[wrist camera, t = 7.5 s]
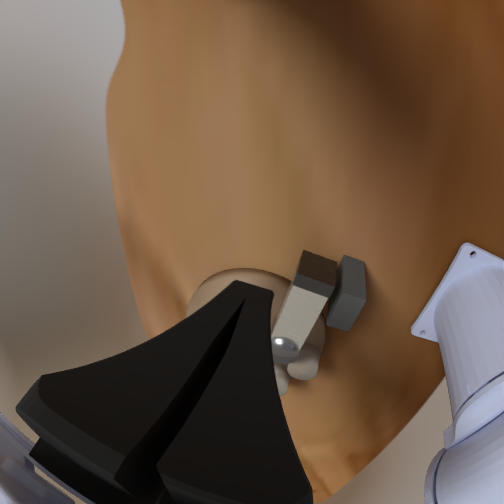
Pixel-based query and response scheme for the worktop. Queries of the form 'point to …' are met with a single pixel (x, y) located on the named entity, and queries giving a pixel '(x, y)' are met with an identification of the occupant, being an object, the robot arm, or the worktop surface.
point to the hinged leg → (302, 306)
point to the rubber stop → (347, 294)
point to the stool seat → (279, 285)
